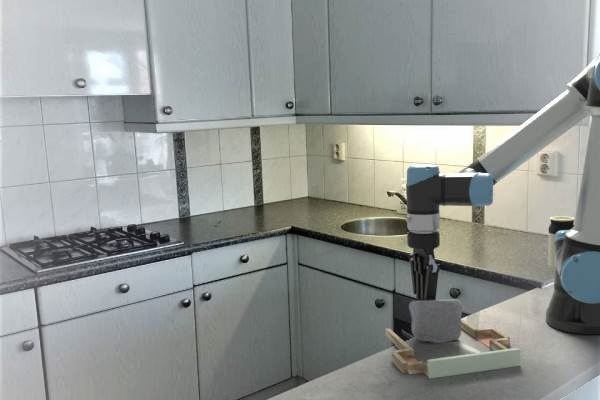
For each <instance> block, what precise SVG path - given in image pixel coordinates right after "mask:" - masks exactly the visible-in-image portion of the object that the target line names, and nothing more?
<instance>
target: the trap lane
mask: <svg viewBox="0 0 600 400" xmlns="http://www.w3.org/2000/svg"><path fill="white" fill-rule="evenodd" d="M461 330H463V331H465V332H466V333H467V334H468V335H470V336H471V337H473V338H474V339H476V340H477V341H478V342H480V343H481V344H483V345H484V346H486V347H487V348H488V349H490V351H483V352H474V353H468V354H459V355H453V356H446V357H445V356H444V357H439V358H432V359H431V358H430V359H427V360H420V361H418V360H417V359H416V358H415V351H414V349H413V348H412V347H411V346H410V345H409V344H408V343H406V341H405V340H403V339H402V338H401V337H400V336H399V335H397V333H395V332H394V331H393V330H392V329H391V328H385V337H386V338H388V339H389V340H390V341H391V342H392V344H394V346H396V348H398V349H395V350H394V351H393V352H391V362H392V364H393V365H395V367H397V369H398V370H399V371H400V372H401V373H402V374H406V373H407V374H409V375H416V374H424V375H426V376H427V377H428V379H436V378H443V377H451V376H452V377H453V376H458V375H464V374H472V373H479V372H485V371H487V372H488V371H493V370H500V369H506V368H507V369H508V368H513V367H520V366H521V349H520V348H519V347H513V348H509V347H510V345H511V343H510V342H511V339H510V338H511V337H510V336H509V335H506V334H505V333H504V332H502V331H501V330H499V329H497V328H491V327H483V328H482V327H481V328H476V326H473V325H472V324H470V323H469V322H467V321H465V320H464V319H461Z"/></svg>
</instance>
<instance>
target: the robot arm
mask: <svg viewBox="0 0 600 400" xmlns="http://www.w3.org/2000/svg"><path fill="white" fill-rule="evenodd" d="M589 116H590V117H591V121H590V128H589V132H588V133H589V134H588V141H587V145H586V146H587V147H586V150H585V151H586V153H585V157H584V158H585V159H584V164H583V170H582V176H581V182H580V187H579V188H580V189H579V194H578V200H577V205H576V212H575V216H574V218H575V220H574V227H573V228H572V229H570V230H561V231H558V232H557V233H556V234H555V240H554V244H555V261H554V272H553V273H554V274H553V275H554V276H553V277H554V278H553V292H552V294H551V295H552V296H551V298H550V301H549V304H548V307H547V308H546V311H545V322H546V324H547V325H549V326H550V327H551V328H554V329H555V330H559V331H562V332H567V333H572V334H577V335H579V334H580V335H600V53H599V54H598V55H597V56H595V57H594V59H593V60H592V61H591V62H590V63H589V64H588V65H587V66H586V67H585V69H584V70H582V71H581V72H580V73H579V74H578V75H577V76H576V77H575V78H574V79H572V80H571V81H570V82H569V83H567V85H566V90H565V91H564V92H563V93H561V94H560V95H559V96H558V97H556V98H555V99H553V100H552V101H551V102H550V103H548V104H547V105H546V106H544V107H543V108H542V109H541V110H539V111H538V112H537V113H535V114H534V115H533V116H531V117H530V118H529V119H527V120H526V121H525V122H523V123H522V124H521V125H520V126H518V128H516V129H515V130H514V131H512V132H511V133H509V134H508V135H507V136H506V137H504V138H503V139H501V140H500V141H499V142H498V143H496V144H495V145H494V146H492V147H491V148H490V149H489V150H487V151H486V152H485V153H483V154H481V156H479V157H478V158H477V159H475V160H474V161H473V162H472V163H471V164H469V165H467V166H466V167H464V168H463V169H461V170H460V171H459V172H458V173H456V172H455V173H443V172H441V171H440V167H439V166H438V165H437V164H415V165H414V164H413V165H410V166H408V168H407V170H406V184H405V188H406V218H405V222H406V226H407V227H406V228H407V229H408V231H407V234H406V235H407V236H406V237H407V238H406V239H407V240H406V241H407V242H406V243H407V246H408V248H411V249H412V253H411V254H408V260H409V264H410V266H409V267H410V273H411V274H410V275H411V283H412V284H411V285H412V292H413V295H415V296H416V299H417V300H437V290H438V281H439V273H440V270H441V264H440V263H436V259H435V258H436V255H435V251H434V250H435V249H437V248H439V247H440V243H441V238H440V237H441V235H440V234H441V233H440V231H438V230H439V229H440V227H441V222H440V221H441V219H440V216H441V213H440V206H441V207H442V206H443V207H446V206H449V207H450V206H452V207H455V206H457V207H475V208H479V207H487V206H491V205H492V204H493V202H494V186H495V185H496V184H497V183H499V182H500V181H501V180H503V179H505V178H506V177H507V176H508V175H509V174H511V173H512V172H514V171H515V170H516V169H518V168H519V167H520V166H522V165H523V164H524V163H525V162H527V161H528V160H530V159H531V158H533V157H534V156H536V155H537V154H538V153H539V152H541V151H543V149H545V148H547V146H550V144H552V143H553V142H554V141H556V140H557V139H558V138H560V137H562V136H563V135H564V134H565V133H567V132H568V131H570V130H571V129H572V128H574V127H575V126H576V125H578V124H579V123H580V122H583V120H584V119H586V118H587V117H589Z"/></svg>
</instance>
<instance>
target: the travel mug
mask: <svg viewBox="0 0 600 400" xmlns="http://www.w3.org/2000/svg"><path fill="white" fill-rule="evenodd" d="M549 220H550V224H549V227H548V244H547V245H548V247H547V248H548V249H547V252H548V253H547V266H548V265H549V266H551V267H554V261H555V244H554V240H555V234H556V233H557V232H558V231H561V230H570V229H572V228H573V227H574V223H575V216H574V217H573V216H568V215H554V216H550V217H549Z"/></svg>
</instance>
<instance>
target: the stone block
mask: <svg viewBox="0 0 600 400" xmlns="http://www.w3.org/2000/svg"><path fill="white" fill-rule="evenodd" d="M408 309H409V314H410V317H411V326H410V327H411V333H412V335H413V337H414V338H415V339H417V340H419V341H421V342H426V341H427V342H430V343H437V344H438V343H447V342H452V341H457V340H459V339H460V337H461V335H462V329H461V320H462V314H463V304H462V303H461V301H460V299H456V298H445V299H444V298H443V299H442V298H441V299H436V300H418V299H417V300H415V299H414V300H411V302H409V304H408Z"/></svg>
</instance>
